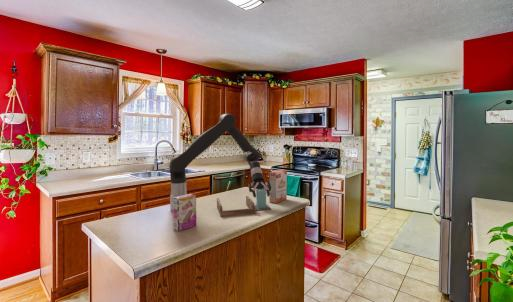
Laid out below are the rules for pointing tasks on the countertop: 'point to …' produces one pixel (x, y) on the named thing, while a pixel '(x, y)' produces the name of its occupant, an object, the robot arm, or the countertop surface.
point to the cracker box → (278, 186)
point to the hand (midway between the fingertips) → (261, 196)
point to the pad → (262, 208)
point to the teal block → (261, 198)
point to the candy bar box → (184, 212)
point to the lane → (239, 211)
